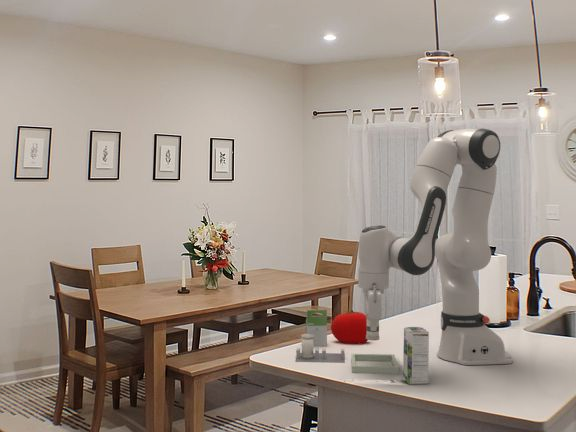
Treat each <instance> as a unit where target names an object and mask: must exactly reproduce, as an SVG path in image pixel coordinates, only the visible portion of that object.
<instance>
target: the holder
mask: <svg viewBox="0 0 576 432" xmlns="http://www.w3.org/2000/svg"><path fill="white" fill-rule="evenodd" d="M300 339H301V347H296V351H295V352H296V356H295V360H294V362H295V363H331V364H332V363H335V364H336V363H340V364H345V363H346V358H345V357H346V356H345V355H346V354H345V348H341V349H340V353H333V352H332V353H331V352H330V353H329V352H327V349H326V348H323V347H322V349H321V350H322V351H321V352H320V349H319V347H317V348H316V347H315V349H314V347H313V339H314V335H313V334H309V333H306V332H305V333H301V335H300Z"/></svg>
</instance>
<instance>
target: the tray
mask: <svg viewBox="0 0 576 432" xmlns="http://www.w3.org/2000/svg"><path fill="white" fill-rule="evenodd" d="M350 356H351V357H350V358H351V373H353V374H389V375H391V374H394V375H397V374H399V364H398V361H397V359H396V358H397V357H396V355H395V354H388V353H387V354H385V353H384V354H383V353H381V354H380V353H376V354H375V353H351V355H350ZM356 362H391V365H360V364H359V365H357V364H356Z"/></svg>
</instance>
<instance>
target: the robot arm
mask: <svg viewBox="0 0 576 432" xmlns="http://www.w3.org/2000/svg"><path fill="white" fill-rule="evenodd" d="M500 151H501V140H500V138H499V135H498V134H497V133H496V132H495V131H493V130H491V129H487V128H469V127H467V128H461V129H456V130H455V129H451V130H446V131H443V132H441V133H439V135H438V136H436V137H433V138H431V139H430V140H429V141H428V142H427V144H426V146H425V147H424V148H423V150H422V152H421V154H420V156H419V158H418V160H417V162H416V164H415V167H414V169H413V172H412V174H411V179H410V183H409V187H410V189H411V192H412V194H413V195H414V197H415V198H416V199H417V200H418V201H419V204H420V213H419V216H418V220H417V222H416V224H415V225H416V226H415V229H414V232H413V234H412V235H411V237H406V236H402V235H400V234H397V233H396V232H393V231H392V230H391V229H389V228H388V227H387V226H386V225H373V226H369V227H365V228H363V229H362V230H361V232H360V235H359V241H358V260H359V266H358V272H357V273H358V280H357V281H358V283H357V287H358V288H361V289H362V293H363V295H364V303H365V307H366V312H367V314H368V318H369V319H370V330H371V331H376V330H377V320H378V319H379V320H381V319H382V316H383V315H382V312H383V309H382V299H383V298H382V295H383V294H385V290H386V289H389V285H390V279H389V277H390V268H393V269H396V270H400V271H404V272H406V273H407V274H410V275H412V276H421V275H423V274H426V273H427V272H428V271H429V270H430V269H431V268H432V266H433V264H434V262H435V258H436V260H437V261H436V262H437V266H438V269H439V275H440V280H441V287H442V288H441V289H442V310H441V312H440V313H441V314H440V328H441V335H440V343H439V347H438V350H437V353H436V355H437V357H438V358H440V359H442V360H445V361H448V362H454V363H458V364H460V365H463V366H479V365H481V366H482V365H503V364H505V365H507V364H512V363H513V361H514V358H513V356H512V355H511V354H510V353H509V352H507V351H506V348H505V343H504V341H503V339H502V338H501V336H499V335H498V334H497V333H496V332H494V331H493V329H490V328H489V327H488V326H487V325H486V324H489V323H490V321H491V319H490V318H489V316H488V315H487V316H486V315H484V314H482V313H480V288H479V286H478V284H477V282H476V279H475V275H474V271H481V270H483V269H485V268H486V267H487V266H488V265H489V264H490V261H491V259H492V250H491V247H490V245H489V240H488V236H489V234H488V225H489V215H490V211H491V207H492V202H493V199H494V194H495V190H496V189H495V188H496V185H497V184H496V183H497V174H498V173H497V170H498V169H497V168H498V167H497V164H496V162H497V160H498V157H499V155H500ZM458 165H460V166H461V171H462V172H461V176H460V179H459V182H458V186H457V189H456V193H455V196H454V202H453V205H452V210H451V213H452V216H453V232H449V233H445V234H443V235H440V236H439V237H438V234H439V230H440V226H441V223H442V220H443V216H444V212H445V209H446V204H447V192H448V188H449V185H450V182H451V179H452V176H453V173H454V171H455V168H456V166H458ZM437 237H438V238H437Z"/></svg>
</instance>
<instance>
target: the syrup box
mask: <svg viewBox="0 0 576 432" xmlns="http://www.w3.org/2000/svg"><path fill="white" fill-rule="evenodd" d="M429 339H430V332H429V331H427V329H426V328H424V327H421V326H407V327H404V328H403V352H402V353H403V360H402V361H403V362H402V364H403V368H402V369H403V371H402V374H403V377H404V379H405V382H406V383H407V384H408V385H424V384H425V385H427V384H429V358H430V357H429V355H430V354H429V352H430V351H429V350H430V349H429V347H430V344H429V342H430V341H429Z"/></svg>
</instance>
